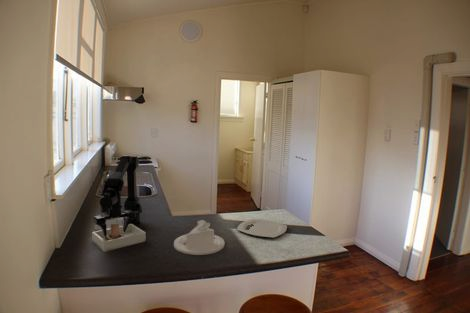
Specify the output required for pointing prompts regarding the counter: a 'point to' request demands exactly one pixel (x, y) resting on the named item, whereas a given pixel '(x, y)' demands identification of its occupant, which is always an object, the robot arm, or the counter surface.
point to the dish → (199, 241)
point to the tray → (131, 237)
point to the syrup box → (109, 222)
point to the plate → (263, 228)
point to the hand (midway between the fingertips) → (115, 234)
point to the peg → (114, 230)
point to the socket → (108, 237)
